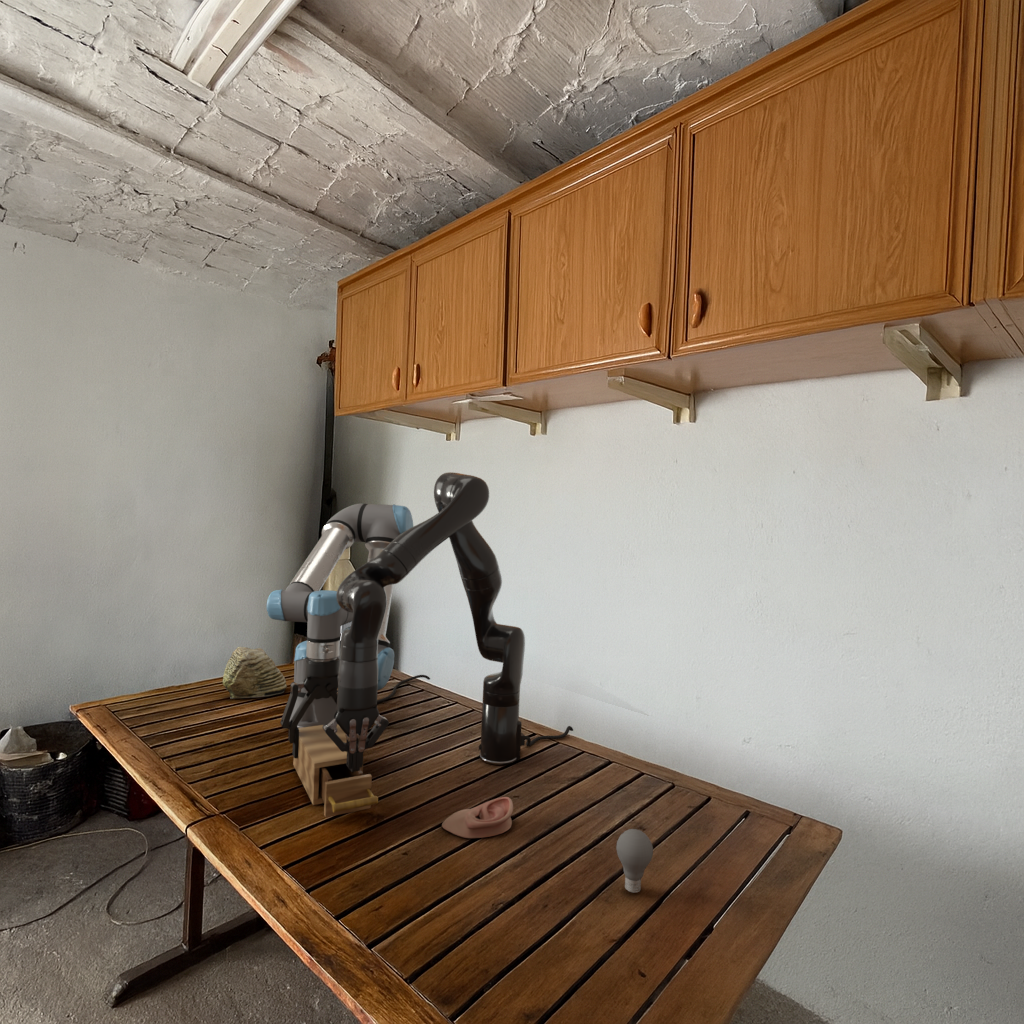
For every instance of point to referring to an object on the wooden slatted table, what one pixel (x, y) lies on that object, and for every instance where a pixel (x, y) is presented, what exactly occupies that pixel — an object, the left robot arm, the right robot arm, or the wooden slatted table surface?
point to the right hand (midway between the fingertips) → (354, 769)
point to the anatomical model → (481, 819)
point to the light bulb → (634, 857)
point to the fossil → (252, 674)
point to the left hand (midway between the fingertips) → (319, 752)
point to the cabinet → (317, 757)
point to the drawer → (345, 790)
